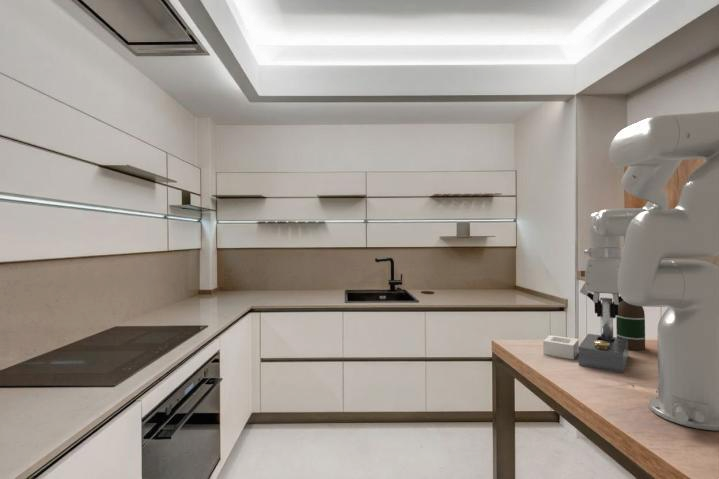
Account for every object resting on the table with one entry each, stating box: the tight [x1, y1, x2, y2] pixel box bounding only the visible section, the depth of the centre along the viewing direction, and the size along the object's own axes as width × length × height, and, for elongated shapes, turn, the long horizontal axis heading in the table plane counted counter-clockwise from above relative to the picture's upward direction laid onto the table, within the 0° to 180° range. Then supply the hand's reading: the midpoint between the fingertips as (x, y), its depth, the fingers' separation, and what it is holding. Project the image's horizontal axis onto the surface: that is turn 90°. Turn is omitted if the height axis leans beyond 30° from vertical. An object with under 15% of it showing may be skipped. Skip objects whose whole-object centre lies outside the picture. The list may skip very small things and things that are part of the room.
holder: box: [542, 334, 580, 360], centre depth 112 cm, size 8×8×5 cm
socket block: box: [578, 333, 629, 374], centre depth 105 cm, size 17×10×6 cm, turn 140°
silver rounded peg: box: [599, 296, 614, 341], centre depth 108 cm, size 3×3×12 cm
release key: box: [594, 340, 610, 349], centre depth 102 cm, size 4×4×6 cm
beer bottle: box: [615, 300, 646, 352], centre depth 116 cm, size 8×8×24 cm
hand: (606, 316), depth 108 cm, fingers closed on silver rounded peg, 3 cm apart
